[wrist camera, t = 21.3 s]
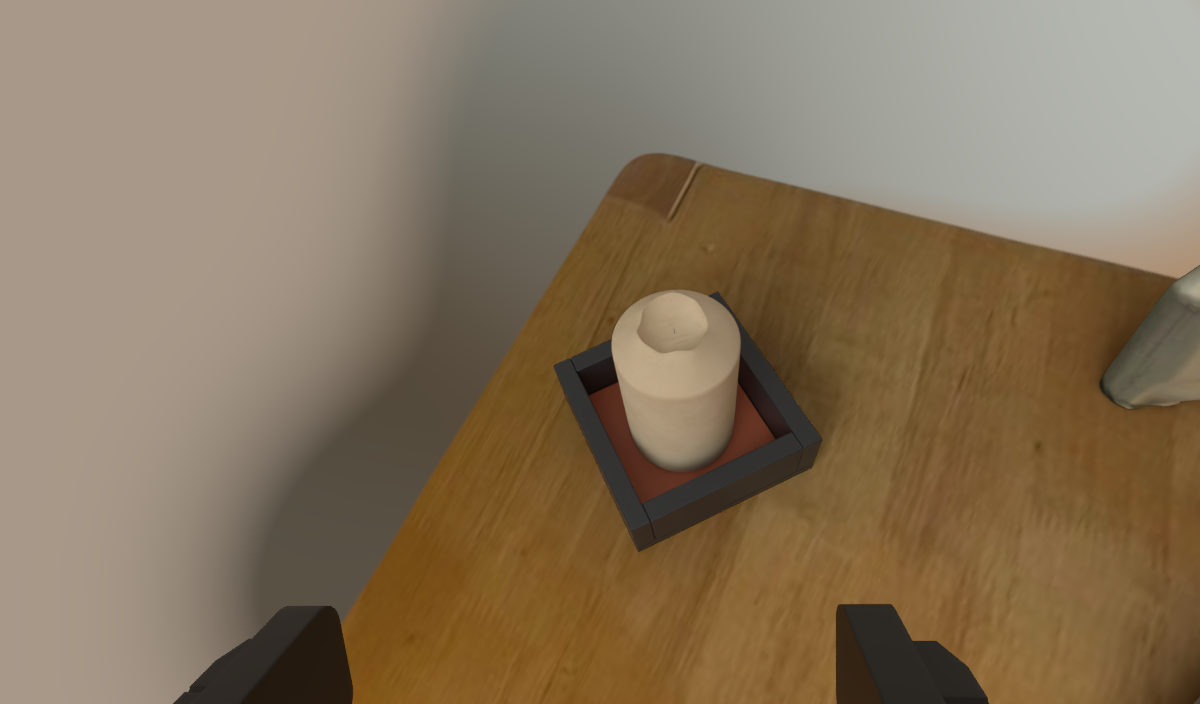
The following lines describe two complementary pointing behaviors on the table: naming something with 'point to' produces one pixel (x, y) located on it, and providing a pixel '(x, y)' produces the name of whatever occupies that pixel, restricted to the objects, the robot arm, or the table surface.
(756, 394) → the tray
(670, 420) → the candle
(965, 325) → the table surface
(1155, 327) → the beige rounded block
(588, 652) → the table surface
